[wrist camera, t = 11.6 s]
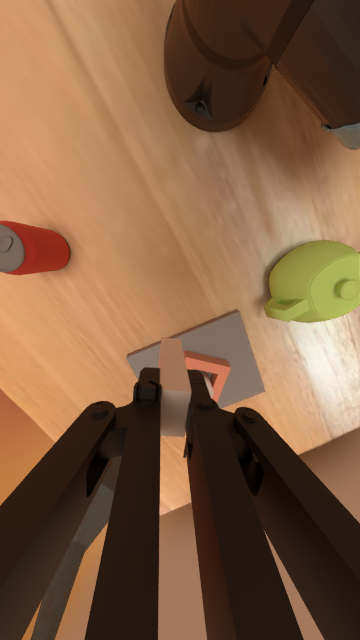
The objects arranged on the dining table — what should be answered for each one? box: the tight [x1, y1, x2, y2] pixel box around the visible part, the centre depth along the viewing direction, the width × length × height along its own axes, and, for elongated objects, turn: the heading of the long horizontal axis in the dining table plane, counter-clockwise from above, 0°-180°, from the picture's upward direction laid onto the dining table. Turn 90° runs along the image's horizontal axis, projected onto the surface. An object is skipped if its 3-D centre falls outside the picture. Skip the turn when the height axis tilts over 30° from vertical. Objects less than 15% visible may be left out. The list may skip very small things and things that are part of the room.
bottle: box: [31, 455, 122, 640], centre depth 33 cm, size 10×10×30 cm
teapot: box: [264, 240, 360, 323], centre depth 35 cm, size 20×13×13 cm
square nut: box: [184, 350, 231, 402], centre depth 43 cm, size 16×9×3 cm, turn 163°
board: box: [126, 310, 265, 409], centre depth 41 cm, size 24×20×8 cm
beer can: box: [0, 221, 69, 275], centre depth 30 cm, size 7×7×12 cm
